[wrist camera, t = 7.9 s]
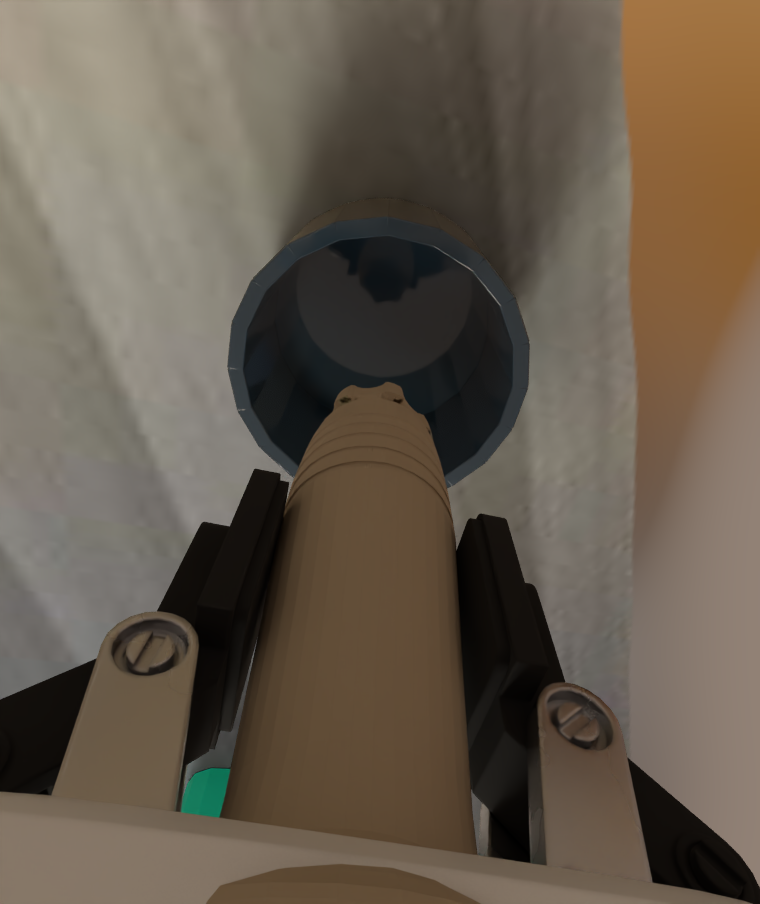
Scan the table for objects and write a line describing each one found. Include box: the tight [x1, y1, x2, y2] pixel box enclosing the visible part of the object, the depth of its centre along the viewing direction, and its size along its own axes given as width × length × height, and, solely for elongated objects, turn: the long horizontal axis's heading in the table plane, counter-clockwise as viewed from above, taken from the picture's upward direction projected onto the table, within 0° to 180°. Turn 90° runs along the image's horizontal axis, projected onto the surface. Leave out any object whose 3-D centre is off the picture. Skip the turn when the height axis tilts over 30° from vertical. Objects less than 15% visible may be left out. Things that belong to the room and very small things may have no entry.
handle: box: [206, 382, 480, 904], centre depth 11 cm, size 5×6×15 cm
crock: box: [227, 198, 530, 488], centre depth 24 cm, size 11×11×7 cm
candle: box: [181, 768, 230, 818], centre depth 41 cm, size 6×6×12 cm
